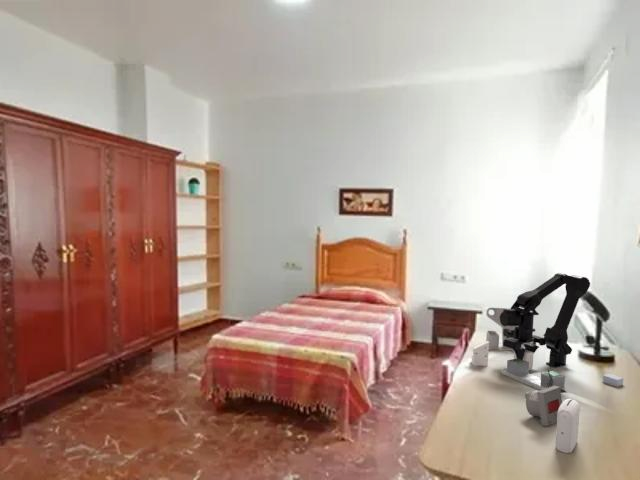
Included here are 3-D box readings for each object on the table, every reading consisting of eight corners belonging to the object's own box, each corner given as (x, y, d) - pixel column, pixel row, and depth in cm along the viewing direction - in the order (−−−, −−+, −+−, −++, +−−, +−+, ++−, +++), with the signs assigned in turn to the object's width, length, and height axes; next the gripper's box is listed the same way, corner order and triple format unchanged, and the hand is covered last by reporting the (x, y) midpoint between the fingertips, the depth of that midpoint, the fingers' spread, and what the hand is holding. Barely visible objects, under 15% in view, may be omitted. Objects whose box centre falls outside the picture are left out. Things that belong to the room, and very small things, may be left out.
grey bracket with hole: (488, 349, 209) (490, 311, 208) (484, 342, 219) (486, 306, 218) (528, 352, 206) (530, 313, 205) (522, 345, 216) (524, 309, 215)
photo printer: (571, 455, 117) (574, 409, 116) (553, 449, 120) (556, 404, 119) (579, 441, 125) (582, 398, 124) (562, 435, 128) (564, 393, 127)
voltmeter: (568, 431, 130) (570, 398, 130) (525, 424, 134) (527, 392, 134) (555, 397, 155) (557, 369, 154) (520, 391, 159) (521, 364, 158)
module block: (520, 364, 188) (521, 347, 188) (532, 369, 183) (533, 352, 182) (513, 365, 187) (514, 348, 186) (525, 370, 181) (526, 353, 181)
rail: (514, 371, 180) (514, 355, 179) (564, 391, 160) (565, 374, 160) (501, 373, 177) (502, 358, 176) (551, 394, 157) (552, 377, 156)
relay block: (616, 390, 163) (622, 388, 165) (617, 379, 163) (623, 378, 165) (602, 385, 167) (608, 384, 169) (603, 375, 167) (608, 373, 169)
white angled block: (498, 360, 185) (489, 342, 185) (476, 371, 186) (467, 352, 186) (496, 357, 189) (486, 339, 188) (474, 368, 190) (465, 350, 190)
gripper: (524, 319, 195) (522, 354, 196) (493, 322, 187) (491, 359, 188) (547, 325, 185) (545, 362, 186) (515, 329, 177) (513, 367, 178)
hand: (523, 362), depth 185 cm, fingers closed on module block, 4 cm apart
